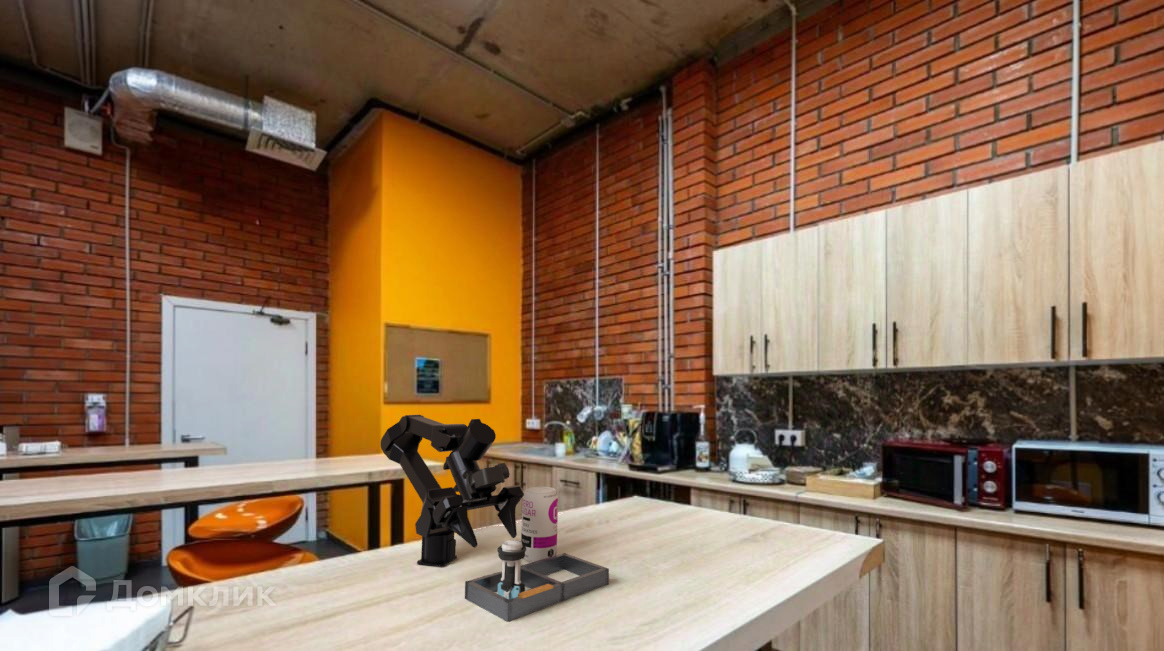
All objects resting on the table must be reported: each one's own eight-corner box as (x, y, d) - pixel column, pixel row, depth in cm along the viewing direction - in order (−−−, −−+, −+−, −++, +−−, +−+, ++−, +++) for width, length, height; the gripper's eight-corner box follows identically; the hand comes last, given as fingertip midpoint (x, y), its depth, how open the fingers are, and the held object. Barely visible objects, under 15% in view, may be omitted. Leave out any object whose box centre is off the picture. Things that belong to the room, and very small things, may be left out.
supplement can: (561, 553, 128) (563, 487, 129) (548, 564, 120) (550, 494, 121) (529, 549, 130) (531, 485, 132) (514, 560, 123) (516, 491, 124)
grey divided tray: (464, 598, 101) (465, 579, 102) (564, 567, 119) (564, 551, 119) (508, 622, 92) (508, 600, 92) (609, 584, 109) (609, 566, 110)
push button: (536, 598, 102) (537, 542, 103) (520, 608, 97) (522, 550, 98) (506, 591, 105) (508, 537, 106) (490, 600, 100) (491, 544, 101)
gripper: (443, 454, 105) (473, 526, 96) (520, 446, 118) (552, 509, 109) (420, 489, 110) (447, 560, 101) (497, 478, 123) (526, 540, 114)
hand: (496, 541), depth 106 cm, fingers open, 9 cm apart
